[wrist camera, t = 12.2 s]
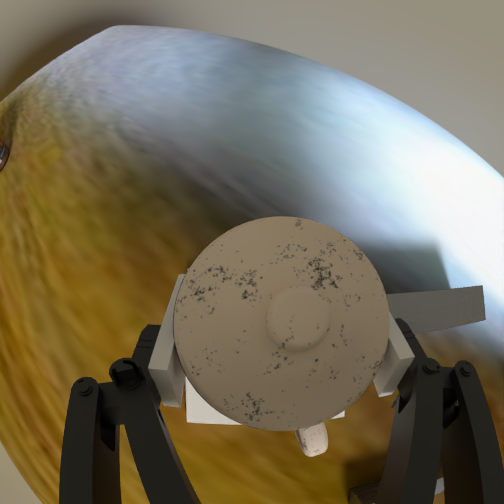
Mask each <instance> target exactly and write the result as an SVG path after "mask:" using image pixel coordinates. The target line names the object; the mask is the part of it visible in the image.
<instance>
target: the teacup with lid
mask: <svg viewBox="0 0 504 504" xmlns="http://www.w3.org/2000/svg"><path fill="white" fill-rule="evenodd" d="M389 330H390V317H389V307H388V301H387V297H386V293H385V290H384V287H383V284H382V282H381V279H380V277H379V275H378V273H377V271H376V270H375V268H374V266H373V265H372V263H371V262H370V261H369V259H368V258H367V257H366V255H365V254H364V253H363V252H362V251H361V250H360V249H359V248H358V247H357V246H356V245H355V244H354V243H353V242H352V241H351V240H349V239H348V238H347V237H345V236H344V235H343V234H341V233H339V232H338V231H336V230H334V229H332V228H330V227H328V226H326V225H324V224H321V223H318V222H316V221H312V220H308V219H304V218H298V217H288V216H276V217H266V218H261V219H256V220H253V221H249V222H246V223H244V224H241V225H239V226H236V227H234V228H233V229H231V230H229V231H227V232H225V233H224V234H222V235H221V236H219V237H218V238H217V239H215V240H214V241H213V242H212V243H210V244H209V245H208V246H207V247H206V248H205V249H204V250H203V251H202V252H201V253H200V254H199V256H198V257H197V258H196V259H195V260H194V262H193V263H192V265H191V266H190V268H189V269H188V271H187V273H186V275H185V276H184V278H183V281H182V283H181V285H180V288H179V291H178V294H177V297H176V301H175V306H174V313H173V336H174V339H175V348H176V353H177V356H178V359H179V362H180V365H181V367H182V369H183V371H184V373H185V375H186V377H187V379H188V380H189V382H190V383H191V385H192V386H193V388H194V389H195V390H196V392H197V393H198V394H199V395H200V396H201V397H202V398H203V399H204V400H205V401H206V402H207V403H208V404H209V405H210V406H211V407H213V408H214V409H215V410H217V411H218V412H219V413H221V414H222V415H224V416H226V417H228V418H229V419H231V420H234V421H236V422H238V423H240V424H243V425H246V426H249V427H253V428H257V429H262V430H271V431H290V430H294V432H295V435H296V437H297V440H298V442H299V445H300V447H301V449H302V451H303V452H304V454H305V455H307V456H316V455H318V454H321V453H323V452H325V451H326V449H327V447H328V437H327V431H326V427H325V424H324V422H325V421H327V420H329V419H331V418H333V417H335V416H337V415H338V414H340V413H341V412H343V411H344V410H346V409H347V408H348V407H349V406H351V405H352V404H353V403H354V402H355V401H356V400H357V399H358V398H359V397H360V396H361V395H362V394H363V393H364V392H365V390H366V389H367V388H368V387H369V385H370V384H371V382H372V381H373V379H374V378H375V376H376V374H377V372H378V370H379V368H380V366H381V364H382V361H383V359H384V355H385V352H386V349H387V344H388V339H389Z"/></svg>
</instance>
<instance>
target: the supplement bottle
mask: <svg viewBox="0 0 504 504" xmlns="http://www.w3.org/2000/svg"><path fill="white" fill-rule="evenodd" d="M8 154H9V149H8V147H7V146H6V145H5V144H4V143H3V141H2V140H1V139H0V171H1V170H2V168H3V167H4V165H5V163H6V161H7V158H8Z"/></svg>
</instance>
